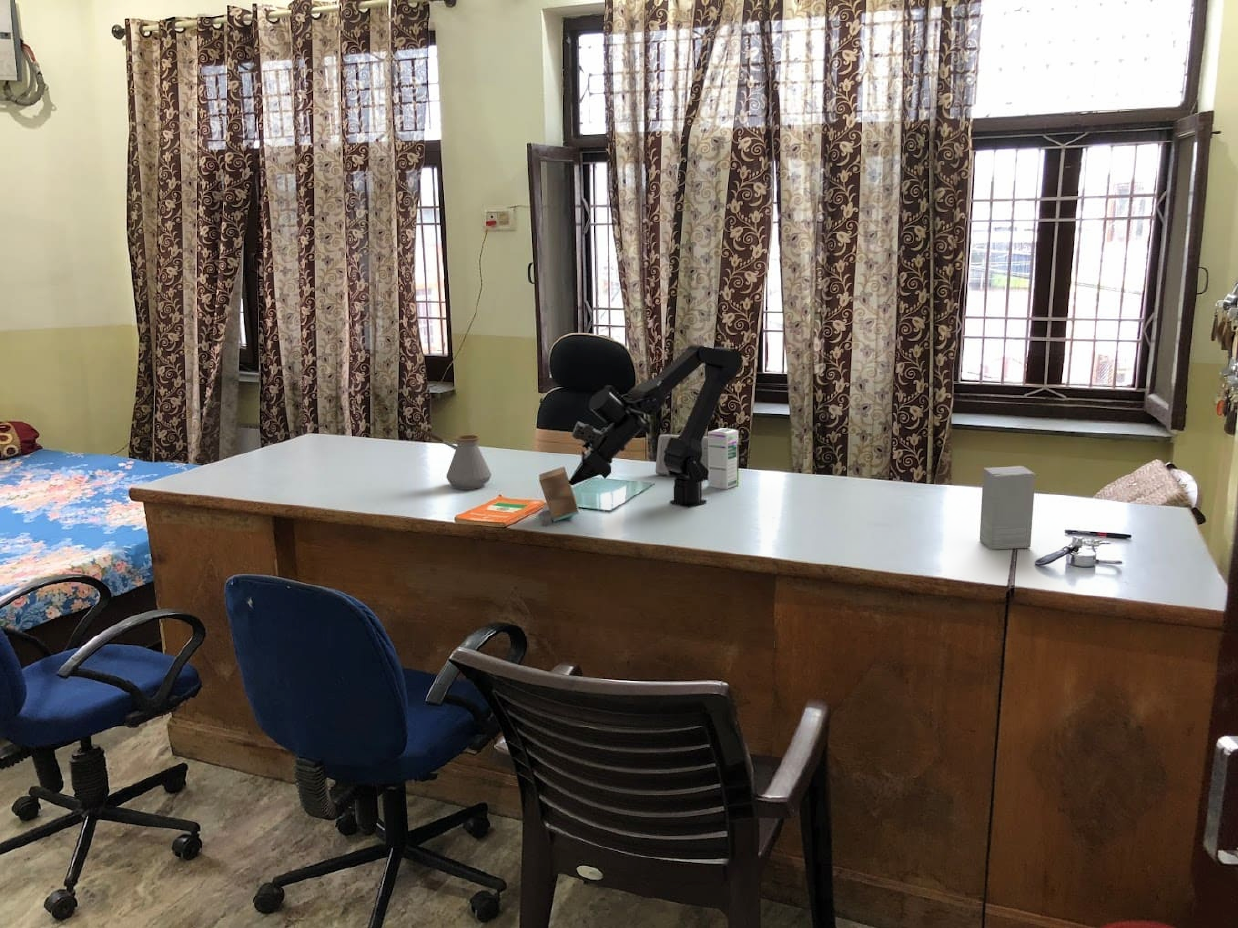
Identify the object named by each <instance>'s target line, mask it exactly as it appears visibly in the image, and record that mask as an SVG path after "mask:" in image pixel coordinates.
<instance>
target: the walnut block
mask: <svg viewBox="0 0 1238 928" xmlns="http://www.w3.org/2000/svg"><path fill="white" fill-rule="evenodd" d="M538 477H539V478H538V482H539V484H540V488H541V490H542V493H543V495H544V499H545V501H546V504H547V505H546V506H548V508H549V510H550V513H551V520H552V522H557V521H561V520H563V519H566V518H569V517H573V516H575V515H579V514H580V512H579V505H578V503H577V499H576V496H575V494H574V491H573V488H572V485H571V484H570V483H569V480H570V478H569V476H568V474H567V471H566V467H565V466H561V467H559V468H555V469H553V470H550V471H546V472H543V473H540V474H539V475H538Z"/></svg>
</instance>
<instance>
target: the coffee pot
mask: <svg viewBox="0 0 1238 928" xmlns="http://www.w3.org/2000/svg"><path fill="white" fill-rule="evenodd" d="M415 430H416V432H415ZM418 431H420V432H421V434H425V435H426V436H428V437H429V438H432V439H433V440H436V441H438V442H440V443H443V444H444V445H446V446H448V447H450V448H452V449H454V450H455V452H454V453H453V457H452V460H451V463H450V465H449V468H448V471H447V473H446V479H447V481H448V482H449V484H450V485H451V486H453V487H454V489H457V488H459V489H458V490H465V489H467V490H476V488H477V489H481V488H484V487H485V484H487V483H488V482H490V479H491V477H492V473H491V470H490V468H489V466H488V464H487V462H486V460H485V458H484V456H483V453H482V452H481V449H480V448H479V446H478V442H479V440H480V436H479V435H474V434H473V435H472V434H471V435H468V434H467V435H459V436H454V441H455V442H456V445H455V444H453V443H451V442H449V441H447V440H445V439H443V438H442V437H440V436H439V435H436V434H435V433H433V432H431V431H428V430H426V429H425V428H421V427H419V426H415V427H414V428H413V431H412V432H413V434H414V435H415V434H417V433H418Z"/></svg>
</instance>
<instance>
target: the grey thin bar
mask: <svg viewBox="0 0 1238 928" xmlns="http://www.w3.org/2000/svg"><path fill="white" fill-rule="evenodd" d="M541 509H542V510H541V523H542V524H541V525H542V526H545V527H546V526H552V516H551V513H550V510H549V508H548V505H546V506H541Z"/></svg>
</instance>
